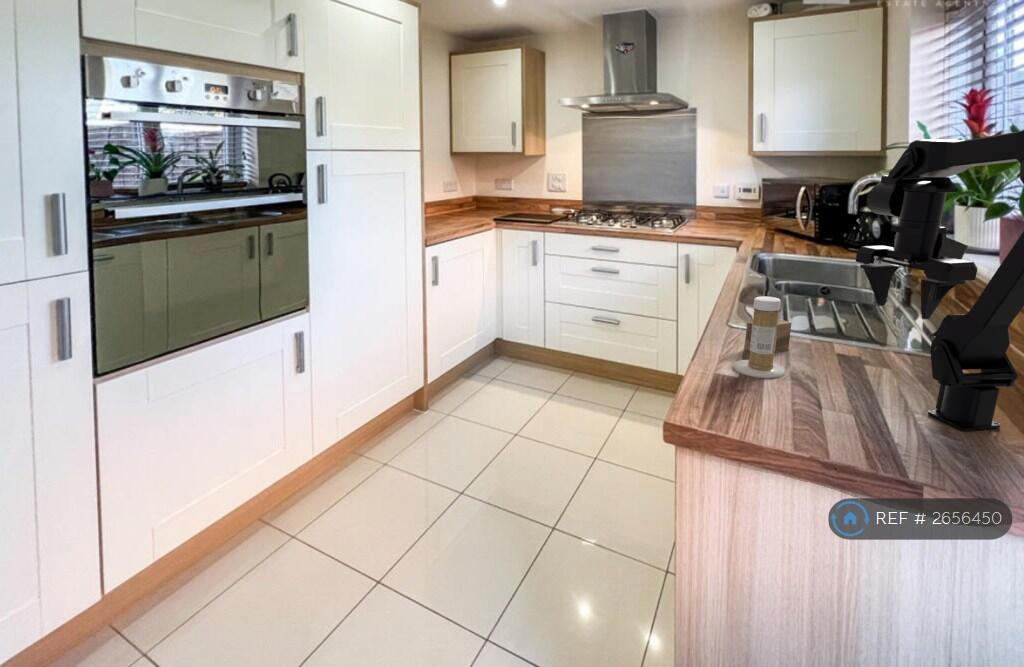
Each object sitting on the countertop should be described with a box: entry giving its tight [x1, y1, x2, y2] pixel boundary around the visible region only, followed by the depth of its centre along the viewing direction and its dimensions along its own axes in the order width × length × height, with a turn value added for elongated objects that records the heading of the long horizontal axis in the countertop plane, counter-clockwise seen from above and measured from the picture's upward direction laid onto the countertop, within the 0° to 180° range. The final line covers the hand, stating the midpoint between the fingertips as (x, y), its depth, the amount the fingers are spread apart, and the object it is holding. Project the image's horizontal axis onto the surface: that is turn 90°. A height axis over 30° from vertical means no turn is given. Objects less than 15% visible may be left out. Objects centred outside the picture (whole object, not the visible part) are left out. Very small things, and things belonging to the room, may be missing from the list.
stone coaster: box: [733, 359, 786, 379], centre depth 111 cm, size 9×9×1 cm
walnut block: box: [744, 318, 792, 353], centre depth 123 cm, size 4×8×6 cm, turn 112°
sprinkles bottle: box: [748, 295, 782, 370], centre depth 109 cm, size 5×5×14 cm
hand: (902, 312), depth 100 cm, fingers open, 9 cm apart
